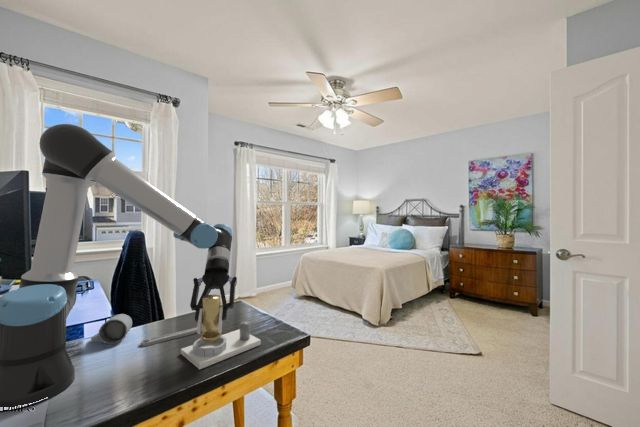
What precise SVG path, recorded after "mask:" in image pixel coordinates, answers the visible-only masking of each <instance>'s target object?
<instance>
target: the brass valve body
mask: <svg viewBox="0 0 640 427" xmlns="http://www.w3.org/2000/svg"><path fill="white" fill-rule="evenodd" d="M220 307H221V294H209V295H207V296H204V297H203V307H202V332H201V334H200V338H201V340H202V341H207V342H209V341H215V340H218V339H219V338H221V335H222V332H221V333H219V332H218V322H219V313H220Z"/></svg>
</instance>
